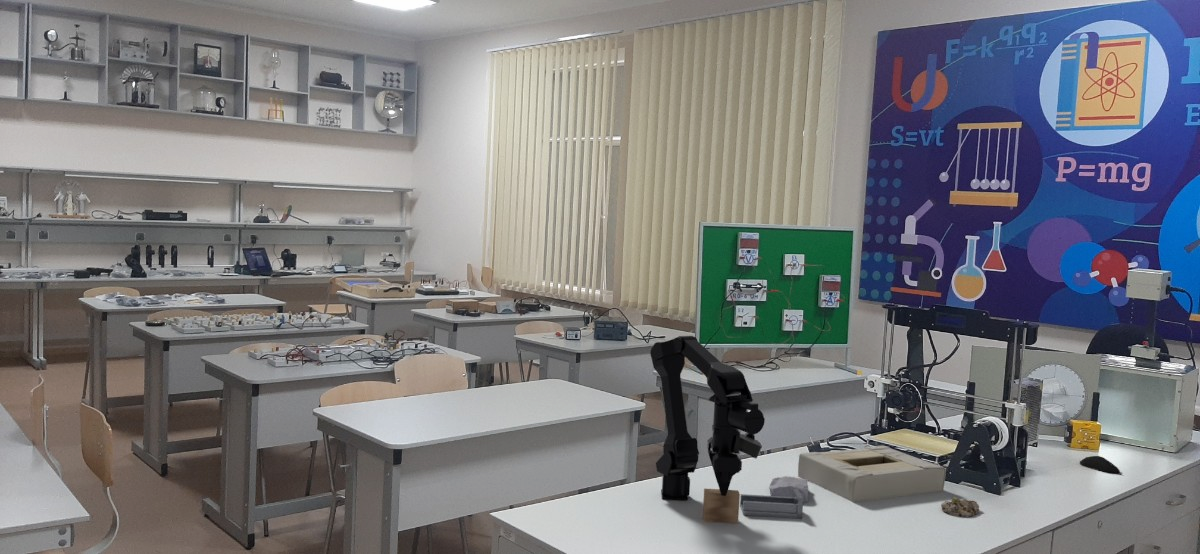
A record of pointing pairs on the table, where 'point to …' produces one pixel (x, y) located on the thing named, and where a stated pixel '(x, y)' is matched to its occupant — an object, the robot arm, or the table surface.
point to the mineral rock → (960, 507)
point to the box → (871, 473)
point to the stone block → (789, 487)
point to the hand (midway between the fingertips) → (721, 489)
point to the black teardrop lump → (1100, 465)
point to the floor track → (772, 505)
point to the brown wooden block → (721, 506)
